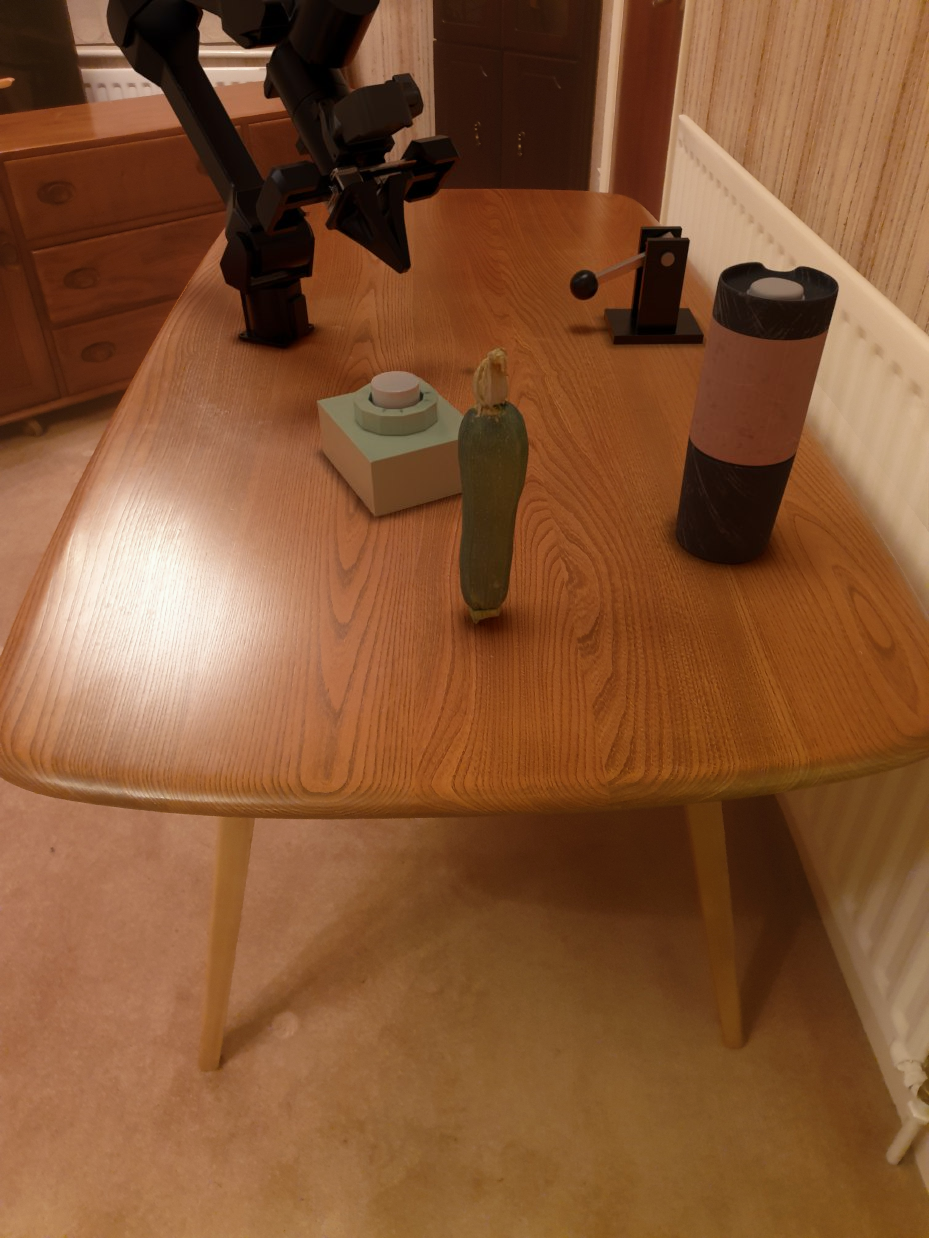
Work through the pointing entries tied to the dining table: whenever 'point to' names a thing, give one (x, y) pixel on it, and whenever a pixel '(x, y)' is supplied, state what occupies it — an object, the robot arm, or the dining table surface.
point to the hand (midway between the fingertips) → (405, 270)
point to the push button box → (393, 448)
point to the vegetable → (490, 487)
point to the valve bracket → (657, 295)
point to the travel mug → (751, 406)
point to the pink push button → (395, 390)
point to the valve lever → (604, 275)
